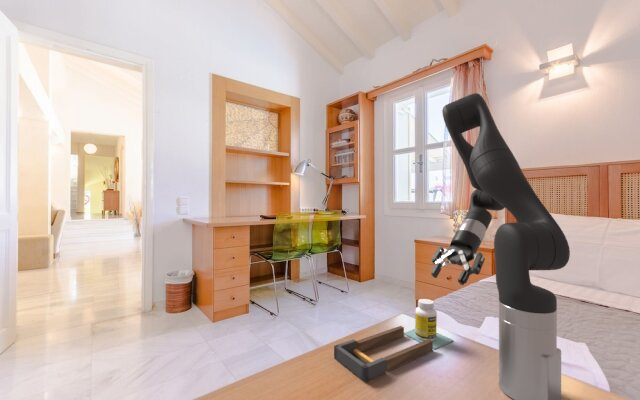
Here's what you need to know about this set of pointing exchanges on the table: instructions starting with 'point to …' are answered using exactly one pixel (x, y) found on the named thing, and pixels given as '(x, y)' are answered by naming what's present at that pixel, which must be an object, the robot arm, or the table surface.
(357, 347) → the chute
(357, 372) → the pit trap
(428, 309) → the supplement bottle
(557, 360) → the robot arm
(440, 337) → the pad
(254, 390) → the table surface
